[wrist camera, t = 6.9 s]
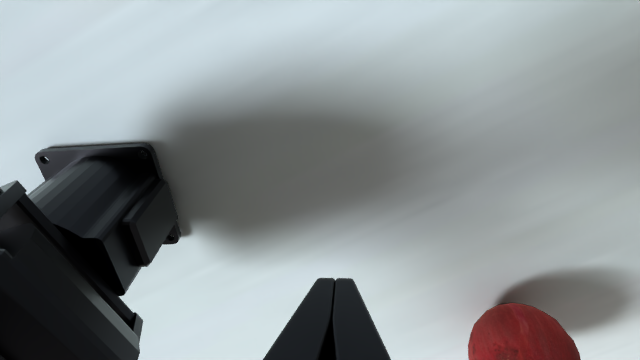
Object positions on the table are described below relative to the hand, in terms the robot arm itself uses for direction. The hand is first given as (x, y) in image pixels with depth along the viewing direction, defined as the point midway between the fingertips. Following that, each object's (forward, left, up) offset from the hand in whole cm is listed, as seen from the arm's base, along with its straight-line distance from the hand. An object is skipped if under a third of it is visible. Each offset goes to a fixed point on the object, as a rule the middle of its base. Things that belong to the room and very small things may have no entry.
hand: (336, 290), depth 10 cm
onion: (+10, -14, -12) cm, 21 cm away
